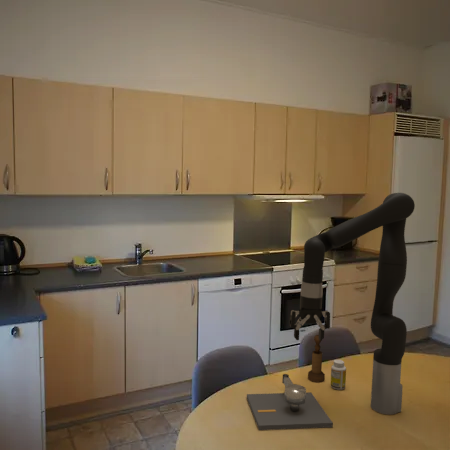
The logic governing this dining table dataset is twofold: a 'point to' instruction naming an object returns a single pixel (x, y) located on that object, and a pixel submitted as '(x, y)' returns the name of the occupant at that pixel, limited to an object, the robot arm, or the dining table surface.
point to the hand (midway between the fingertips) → (308, 339)
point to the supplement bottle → (338, 375)
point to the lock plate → (286, 412)
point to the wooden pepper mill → (316, 363)
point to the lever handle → (293, 393)
